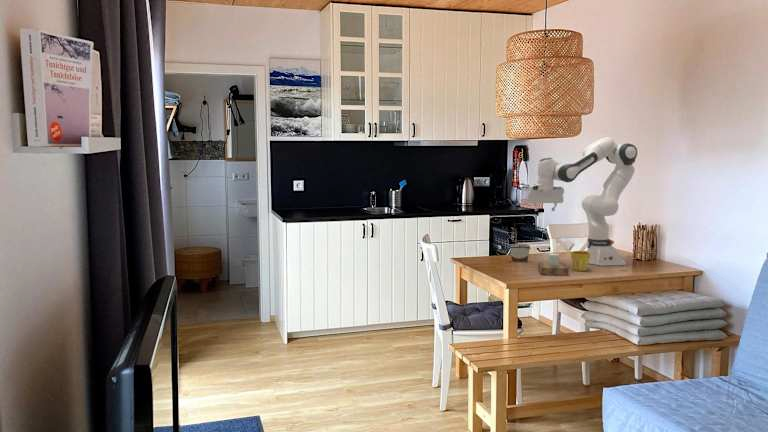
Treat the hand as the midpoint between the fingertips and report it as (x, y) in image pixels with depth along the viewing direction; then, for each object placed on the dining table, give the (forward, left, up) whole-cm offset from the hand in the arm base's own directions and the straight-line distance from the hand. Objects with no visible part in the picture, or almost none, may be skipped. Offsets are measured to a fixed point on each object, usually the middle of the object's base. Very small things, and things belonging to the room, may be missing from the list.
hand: (544, 210), depth 369 cm
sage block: (-2, +23, -27) cm, 35 cm away
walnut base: (-2, +23, -31) cm, 39 cm away
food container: (+13, -8, -31) cm, 35 cm away
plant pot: (-18, +14, -31) cm, 39 cm away
